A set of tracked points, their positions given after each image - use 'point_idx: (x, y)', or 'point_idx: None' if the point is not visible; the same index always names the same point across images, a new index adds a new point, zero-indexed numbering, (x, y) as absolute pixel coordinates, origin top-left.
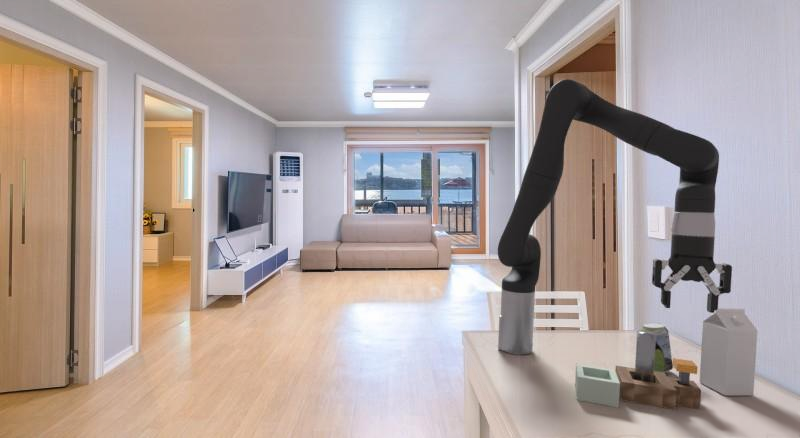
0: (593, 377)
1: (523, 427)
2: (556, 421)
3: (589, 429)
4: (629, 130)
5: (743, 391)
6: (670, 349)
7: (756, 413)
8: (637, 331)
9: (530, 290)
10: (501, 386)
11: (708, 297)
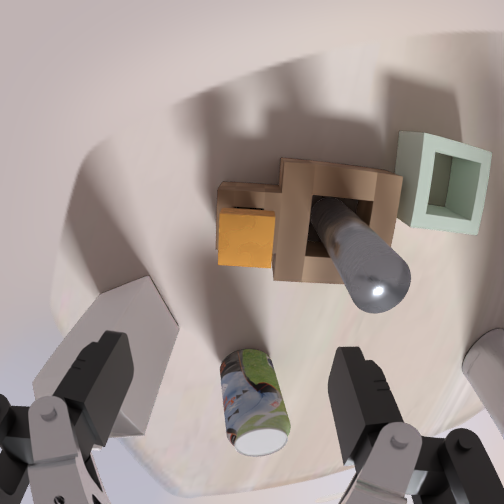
0: (467, 155)
1: None
2: (492, 59)
3: (454, 37)
4: None
5: (112, 291)
6: (224, 394)
7: (116, 208)
8: (408, 287)
9: None
10: None
11: (106, 418)
